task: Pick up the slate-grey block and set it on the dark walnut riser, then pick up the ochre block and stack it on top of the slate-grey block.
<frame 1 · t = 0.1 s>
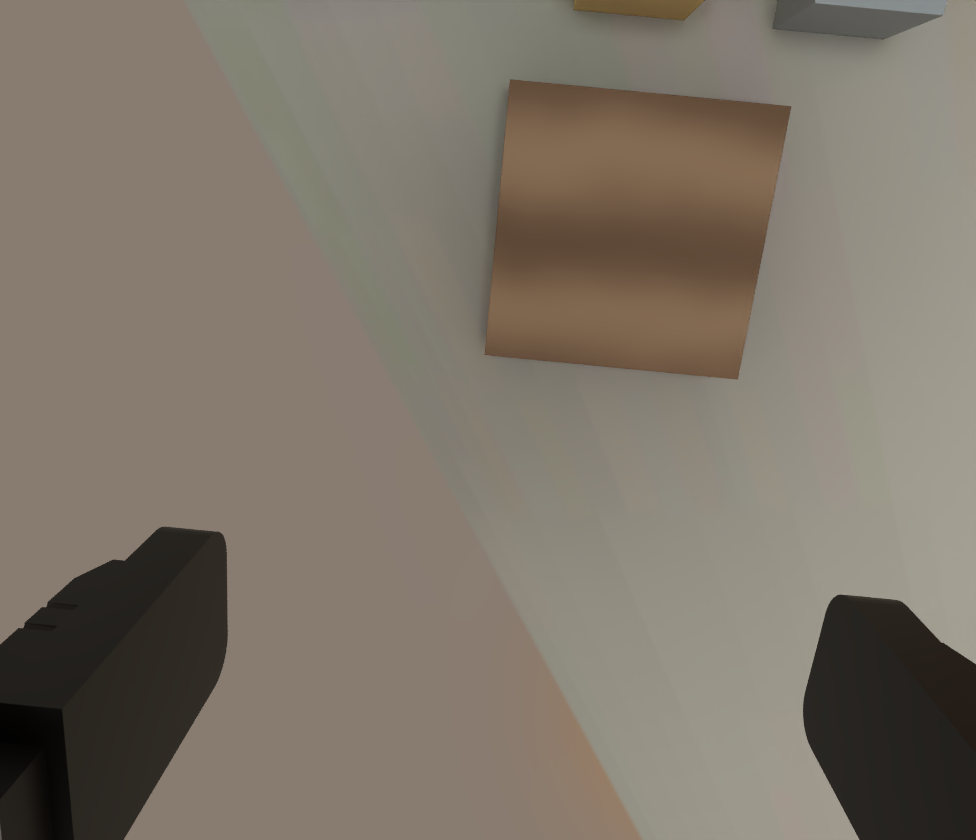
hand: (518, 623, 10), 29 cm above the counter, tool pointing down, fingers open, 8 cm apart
walnut riser: (620, 233, 37), on the counter
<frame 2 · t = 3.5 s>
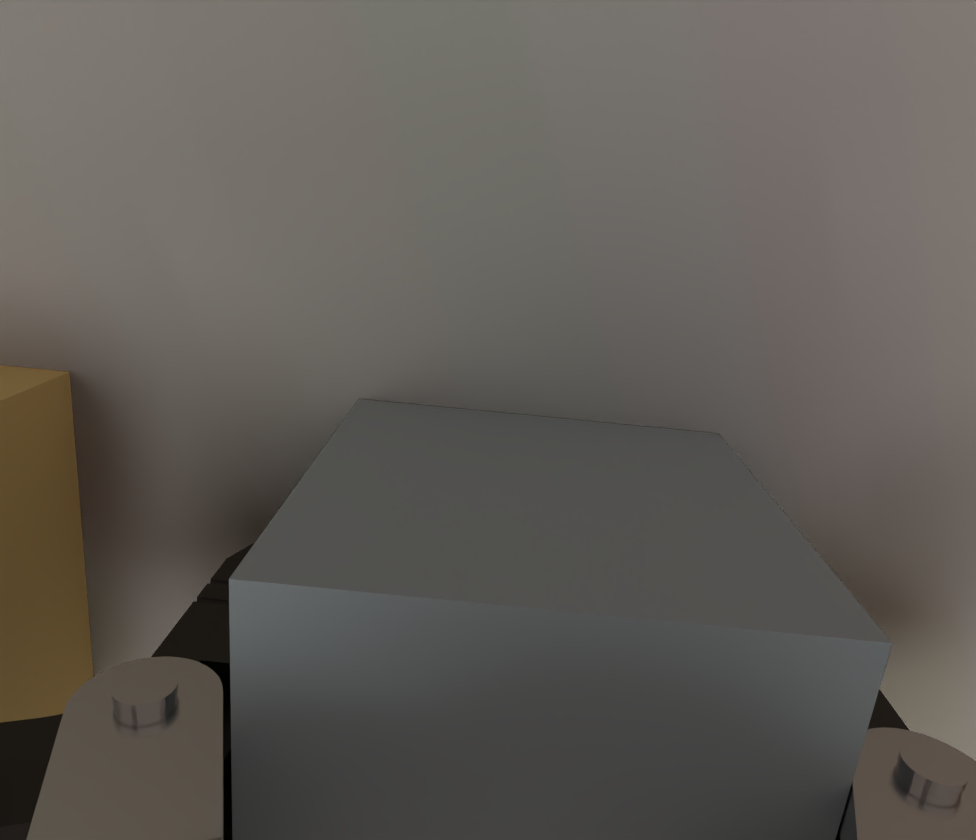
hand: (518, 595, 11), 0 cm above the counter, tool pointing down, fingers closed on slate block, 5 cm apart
slate block: (519, 576, 11), on the counter, touching gripper
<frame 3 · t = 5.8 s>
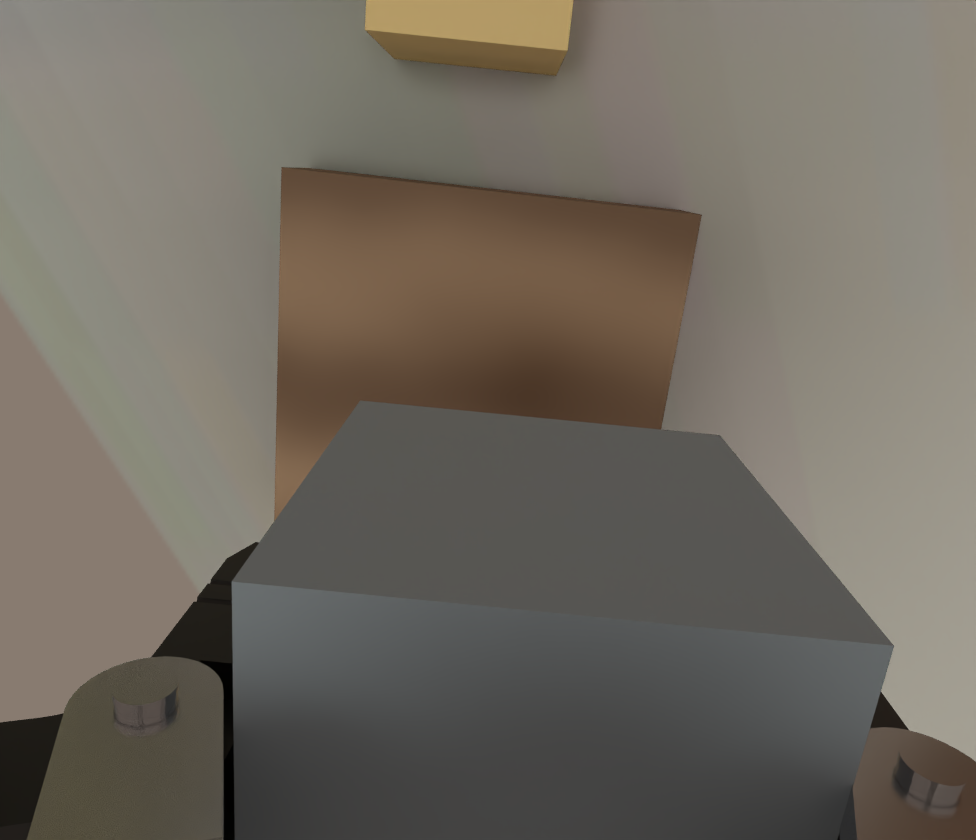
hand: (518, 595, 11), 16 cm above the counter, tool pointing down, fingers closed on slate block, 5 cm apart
slate block: (520, 578, 11), point 15 cm above the counter, touching gripper
walnut riser: (475, 369, 26), on the counter
when the fingers open (5 cm above the counter, at t = 8.4 s): slate block drops 1 cm, resting on walnut riser.
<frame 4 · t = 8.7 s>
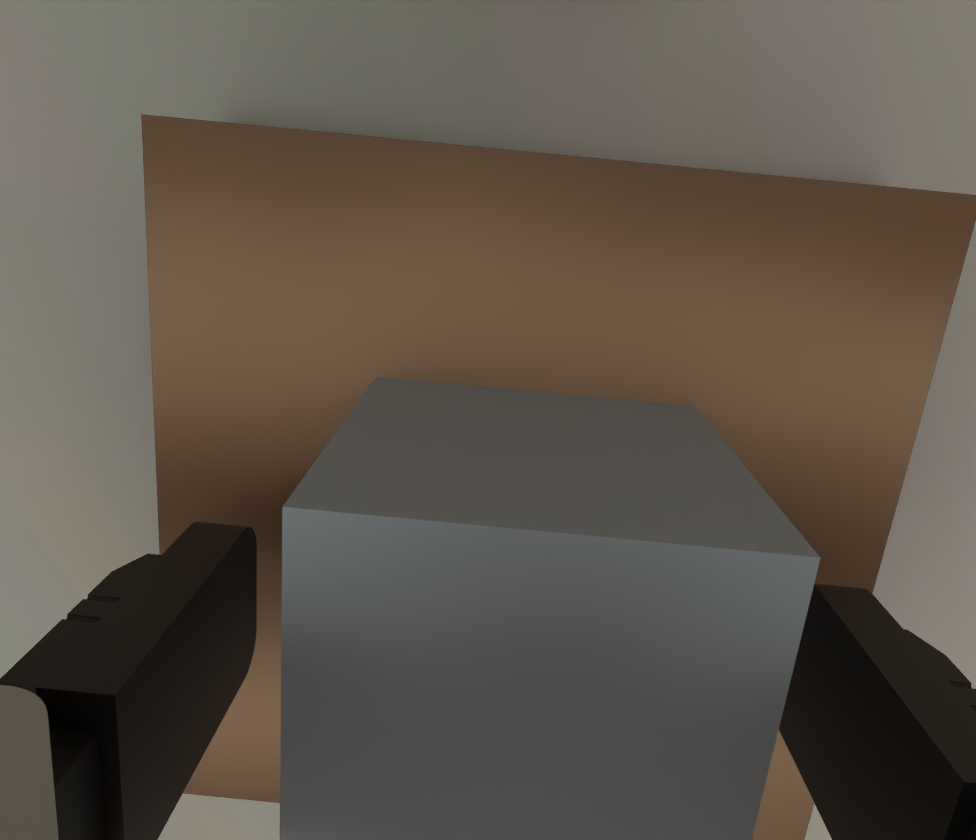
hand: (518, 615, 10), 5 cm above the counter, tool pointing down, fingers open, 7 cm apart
slate block: (519, 536, 12), point 3 cm above the counter, touching walnut riser
walnut riser: (516, 471, 15), on the counter
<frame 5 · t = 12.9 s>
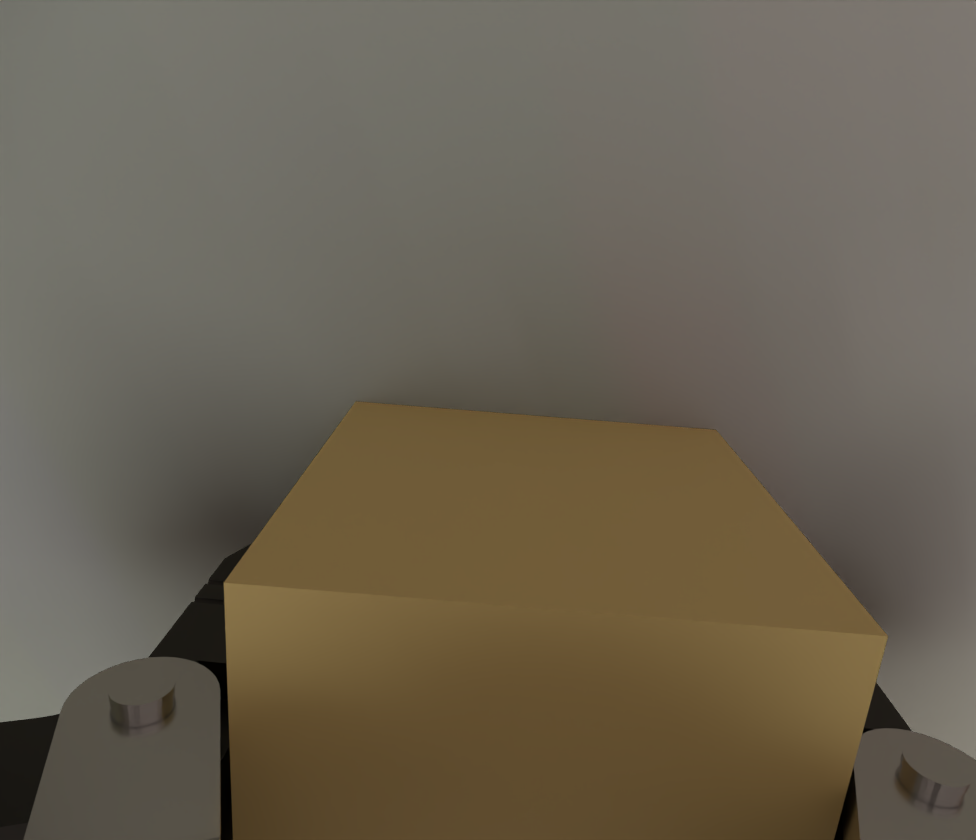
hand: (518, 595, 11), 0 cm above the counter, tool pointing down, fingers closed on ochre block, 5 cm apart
ochre block: (520, 576, 11), on the counter, touching gripper
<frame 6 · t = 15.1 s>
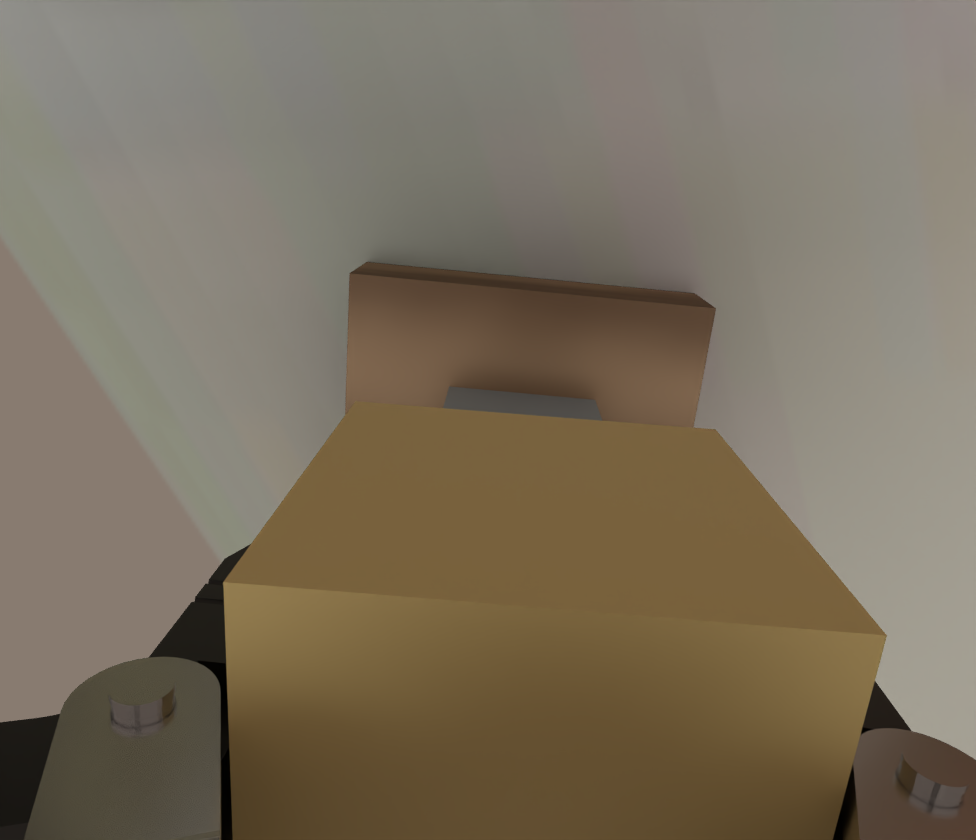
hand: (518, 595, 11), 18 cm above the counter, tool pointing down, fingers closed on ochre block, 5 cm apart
ochre block: (519, 576, 11), point 18 cm above the counter, touching gripper
slate block: (515, 460, 27), point 3 cm above the counter, touching walnut riser
walnut riser: (513, 432, 29), on the counter
when the fingers open (10 cm above the counter, at t = 17.3 s): ochre block drops 1 cm, resting on slate block.
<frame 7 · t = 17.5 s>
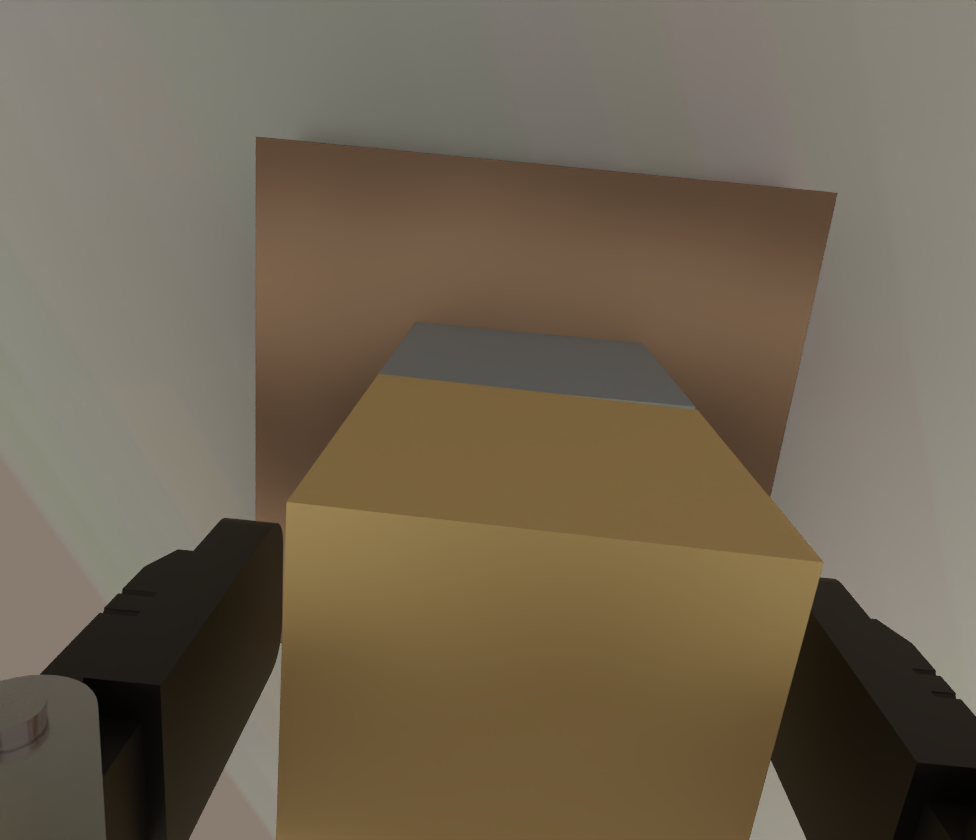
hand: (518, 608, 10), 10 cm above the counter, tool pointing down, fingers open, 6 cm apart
ochre block: (518, 536, 12), point 8 cm above the counter, touching slate block
slate block: (517, 440, 17), point 3 cm above the counter, touching ochre block, walnut riser
walnut riser: (515, 404, 20), on the counter
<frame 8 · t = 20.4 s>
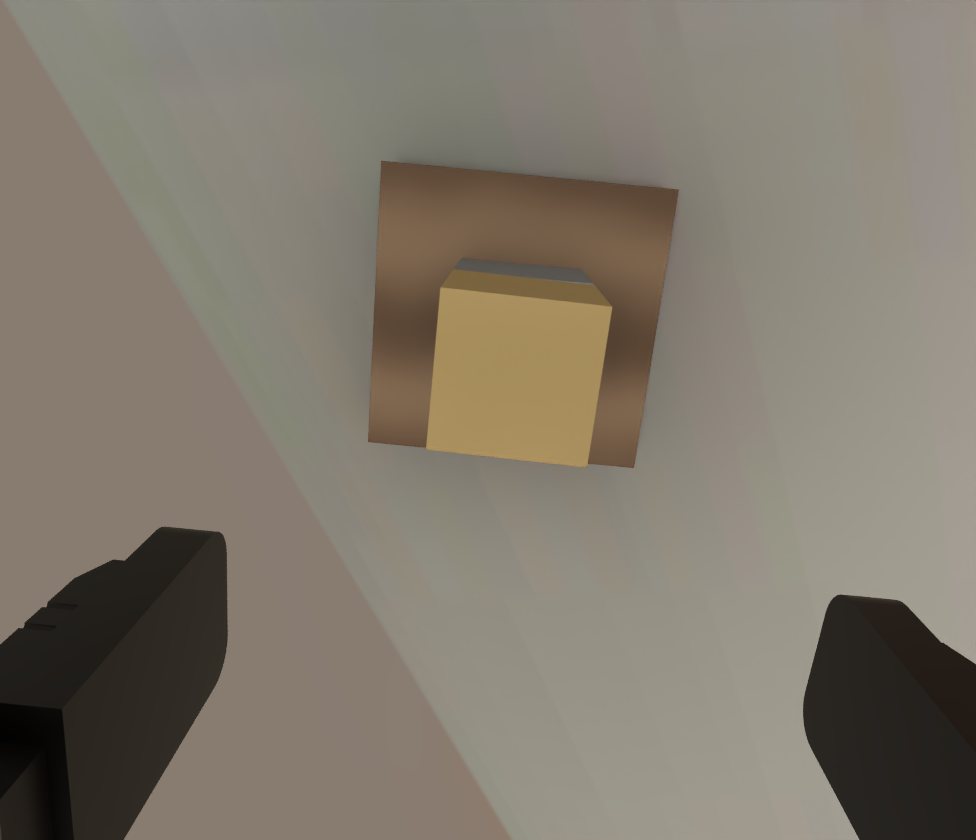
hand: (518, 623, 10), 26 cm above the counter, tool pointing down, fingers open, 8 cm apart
ochre block: (515, 346, 27), point 8 cm above the counter, touching slate block
slate block: (515, 322, 32), point 3 cm above the counter, touching ochre block, walnut riser
walnut riser: (514, 311, 35), on the counter
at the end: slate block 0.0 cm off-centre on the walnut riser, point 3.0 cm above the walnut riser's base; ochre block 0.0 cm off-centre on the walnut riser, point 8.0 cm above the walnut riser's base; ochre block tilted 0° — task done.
